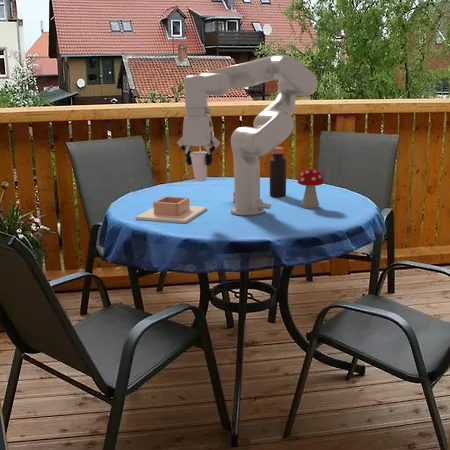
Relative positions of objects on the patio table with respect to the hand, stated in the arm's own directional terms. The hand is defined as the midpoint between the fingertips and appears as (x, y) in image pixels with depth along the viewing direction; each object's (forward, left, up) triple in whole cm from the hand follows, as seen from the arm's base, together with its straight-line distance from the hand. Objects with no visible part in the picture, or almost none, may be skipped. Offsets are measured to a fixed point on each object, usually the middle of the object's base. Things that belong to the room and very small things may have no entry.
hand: (199, 164), depth 208 cm
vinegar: (-16, -45, -21) cm, 52 cm away
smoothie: (0, 0, -6) cm, 6 cm away
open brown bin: (+14, -6, -20) cm, 26 cm away
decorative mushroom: (-33, -30, -21) cm, 49 cm away
